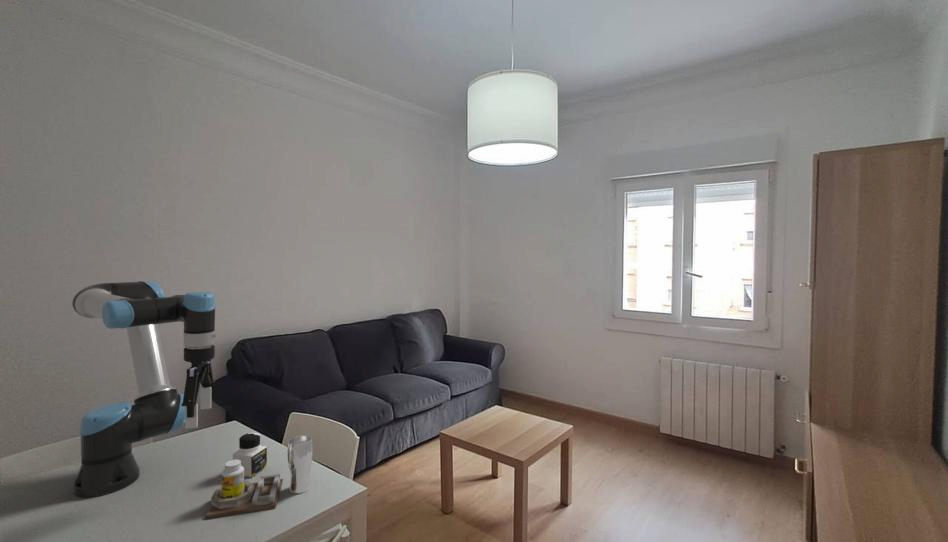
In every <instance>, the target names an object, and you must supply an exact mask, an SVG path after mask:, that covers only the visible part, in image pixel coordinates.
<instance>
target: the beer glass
mask: <svg viewBox="0 0 948 542" xmlns="http://www.w3.org/2000/svg"><path fill="white" fill-rule="evenodd" d="M312 440H313V438H312V436H310V435H309V434H308V435H307V434H300V435H297V436H296V435H295V436H293V437H290V438H289V440H288V442H287V443H288V444H287V464H288V469H289V475H290V485H289V493H291V494H295V495H299V494H303V493H306V492H308V491H309V490H310V489H311V488H312V482H311V476H310V473H311V468H312V462H313V441H312Z"/></svg>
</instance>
